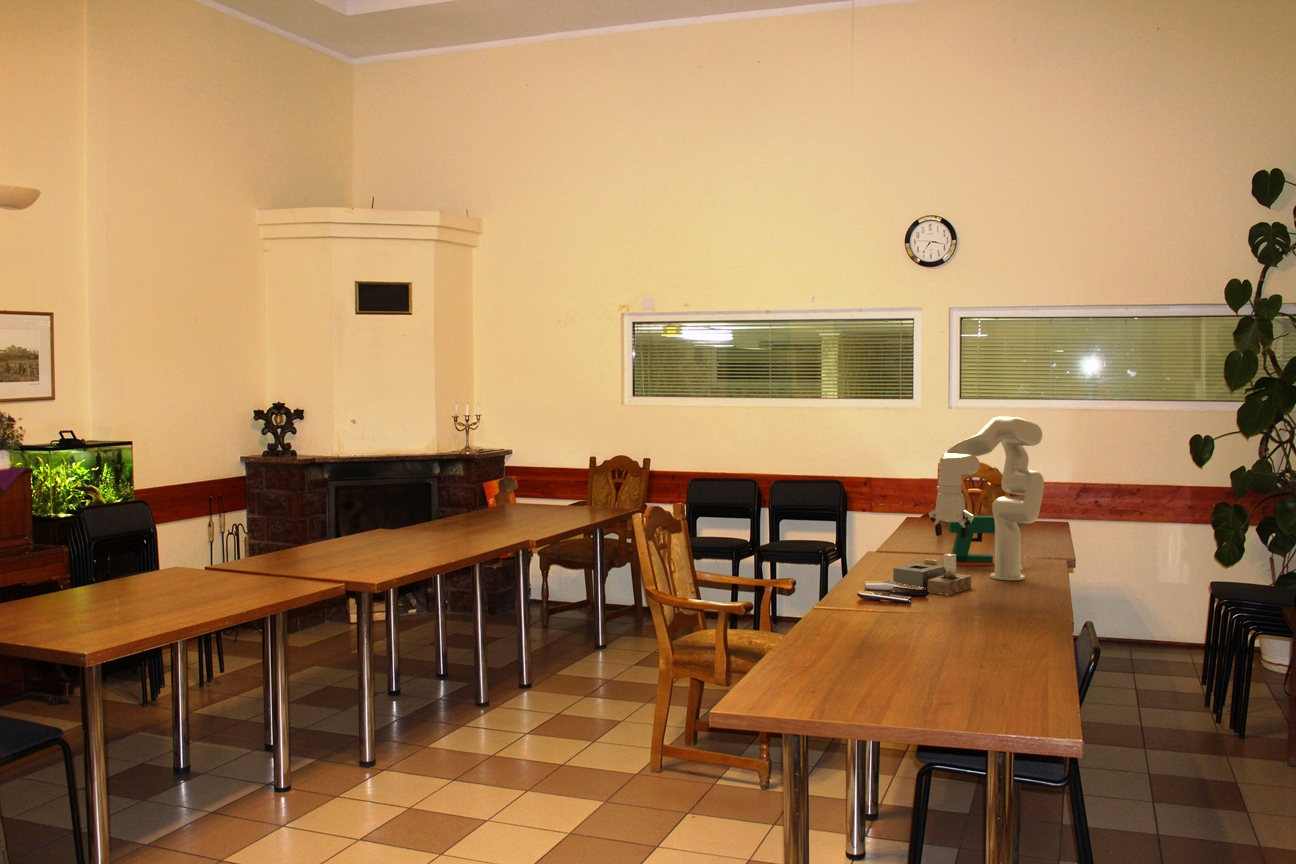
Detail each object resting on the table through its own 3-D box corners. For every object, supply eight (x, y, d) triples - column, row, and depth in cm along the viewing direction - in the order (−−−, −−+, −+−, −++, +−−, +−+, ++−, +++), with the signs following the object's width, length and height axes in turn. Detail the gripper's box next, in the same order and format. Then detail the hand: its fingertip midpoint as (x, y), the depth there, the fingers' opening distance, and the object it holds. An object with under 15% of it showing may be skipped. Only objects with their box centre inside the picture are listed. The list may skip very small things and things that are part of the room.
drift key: (926, 577, 405) (926, 558, 405) (938, 578, 402) (938, 560, 402) (916, 579, 400) (916, 561, 399) (928, 581, 396) (928, 562, 396)
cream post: (946, 588, 390) (947, 553, 390) (958, 590, 387) (958, 554, 387) (941, 590, 387) (941, 554, 387) (952, 591, 384) (952, 556, 384)
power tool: (1023, 563, 445) (1024, 515, 444) (1028, 566, 438) (1028, 517, 437) (945, 562, 448) (946, 515, 447) (949, 565, 441) (949, 517, 440)
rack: (950, 585, 397) (950, 573, 396) (971, 588, 391) (971, 575, 391) (927, 592, 383) (927, 580, 383) (948, 595, 378) (948, 582, 378)
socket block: (914, 580, 406) (914, 562, 405) (943, 584, 398) (943, 566, 397) (893, 586, 394) (893, 568, 394) (922, 591, 386) (922, 571, 385)
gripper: (923, 489, 389) (924, 536, 390) (968, 492, 377) (968, 540, 378) (933, 487, 394) (934, 533, 395) (977, 490, 383) (978, 537, 384)
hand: (951, 536), depth 387 cm, fingers open, 9 cm apart
